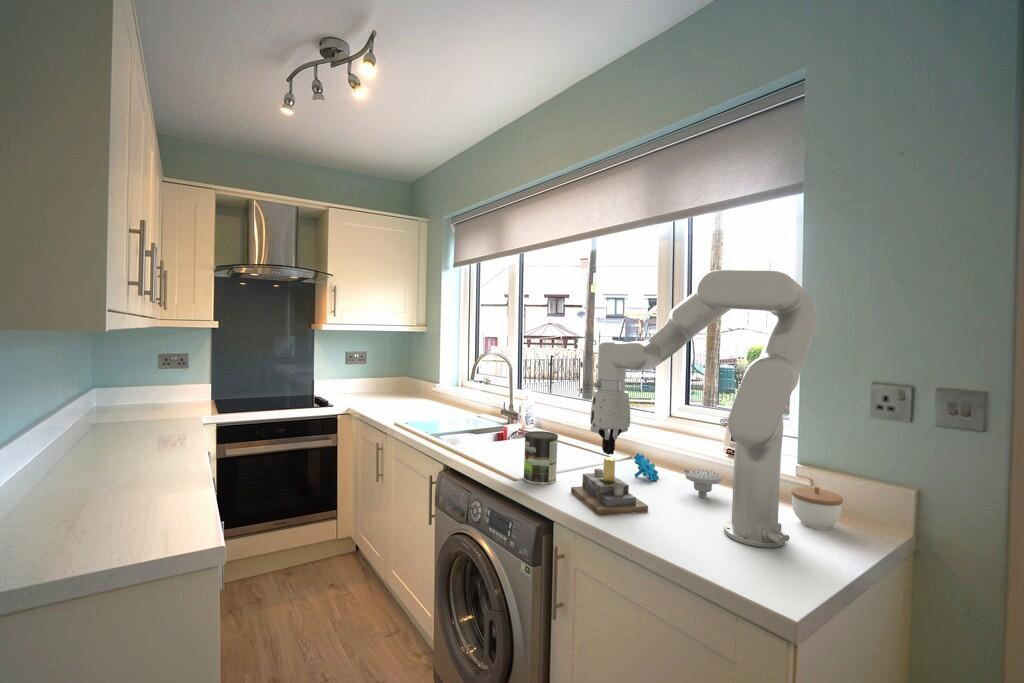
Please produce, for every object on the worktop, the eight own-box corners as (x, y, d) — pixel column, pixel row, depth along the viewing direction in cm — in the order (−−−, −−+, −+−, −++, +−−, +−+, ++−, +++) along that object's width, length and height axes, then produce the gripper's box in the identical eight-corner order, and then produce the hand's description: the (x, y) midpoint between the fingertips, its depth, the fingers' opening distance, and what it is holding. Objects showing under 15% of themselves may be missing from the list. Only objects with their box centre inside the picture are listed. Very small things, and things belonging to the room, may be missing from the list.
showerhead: (683, 464, 146) (719, 468, 143) (682, 488, 146) (718, 493, 143) (683, 473, 137) (722, 477, 134) (682, 498, 137) (721, 503, 134)
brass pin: (615, 497, 132) (617, 460, 132) (605, 498, 131) (606, 461, 131) (610, 493, 135) (611, 457, 135) (600, 494, 134) (601, 458, 134)
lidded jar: (780, 517, 125) (781, 481, 125) (814, 515, 127) (816, 479, 127) (816, 535, 114) (817, 495, 114) (852, 531, 117) (854, 493, 117)
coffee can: (533, 486, 144) (535, 439, 144) (517, 477, 153) (518, 432, 153) (563, 482, 149) (564, 436, 149) (545, 473, 158) (546, 430, 158)
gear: (650, 480, 149) (632, 452, 154) (636, 490, 151) (619, 463, 156) (666, 477, 157) (648, 451, 162) (653, 488, 159) (635, 461, 164)
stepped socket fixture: (647, 511, 126) (648, 484, 126) (598, 515, 123) (599, 487, 123) (615, 489, 144) (616, 465, 144) (571, 492, 140) (571, 468, 140)
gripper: (591, 387, 127) (588, 457, 128) (642, 388, 131) (639, 456, 132) (580, 384, 134) (577, 450, 135) (629, 384, 138) (626, 449, 139)
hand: (608, 453), depth 133 cm, fingers closed
